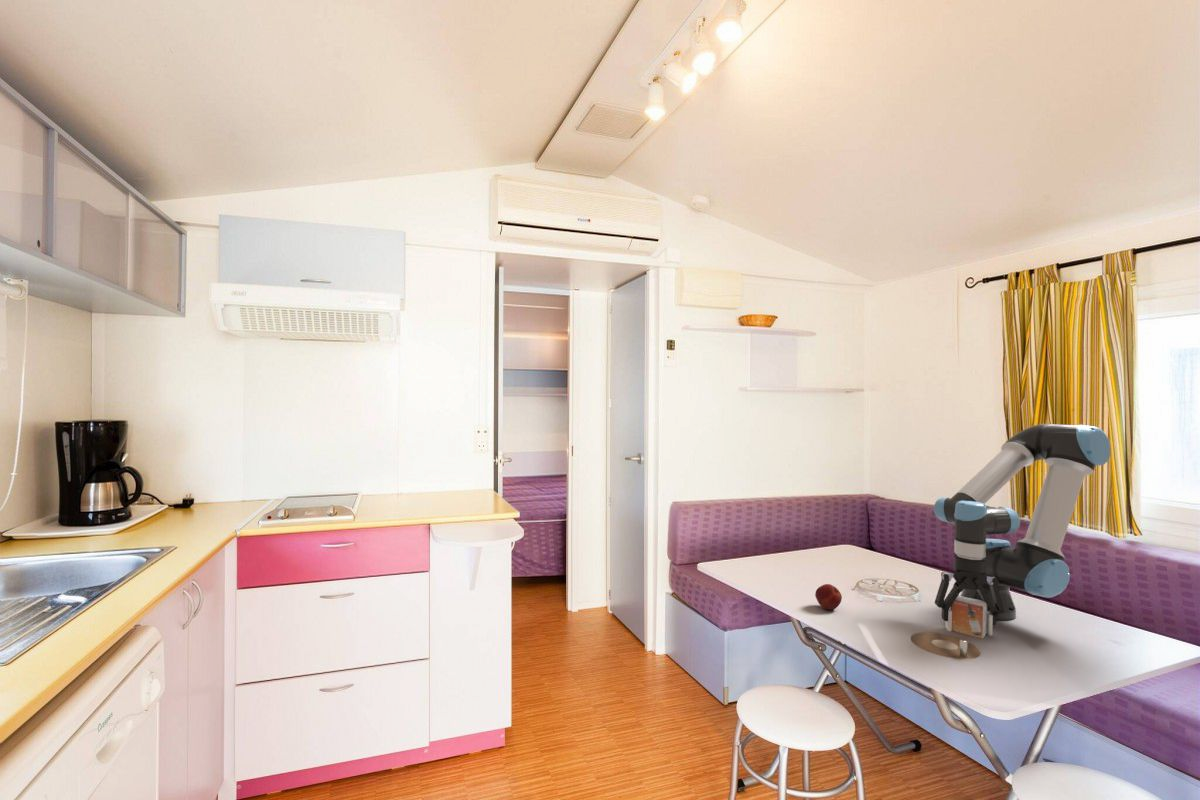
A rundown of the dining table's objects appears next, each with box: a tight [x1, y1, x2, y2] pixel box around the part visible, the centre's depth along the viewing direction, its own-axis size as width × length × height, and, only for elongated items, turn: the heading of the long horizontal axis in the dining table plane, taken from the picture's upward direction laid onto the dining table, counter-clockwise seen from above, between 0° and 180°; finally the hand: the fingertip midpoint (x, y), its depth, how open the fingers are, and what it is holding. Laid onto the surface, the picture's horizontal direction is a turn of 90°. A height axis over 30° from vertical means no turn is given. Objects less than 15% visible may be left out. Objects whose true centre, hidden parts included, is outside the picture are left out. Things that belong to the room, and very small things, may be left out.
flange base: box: [910, 631, 982, 660], centre depth 148 cm, size 16×16×2 cm
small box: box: [950, 594, 987, 639], centre depth 157 cm, size 8×6×10 cm
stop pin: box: [960, 638, 968, 658], centre depth 141 cm, size 2×2×4 cm
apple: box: [814, 583, 843, 611], centre depth 176 cm, size 7×8×8 cm
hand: (968, 634), depth 157 cm, fingers closed on small box, 9 cm apart
